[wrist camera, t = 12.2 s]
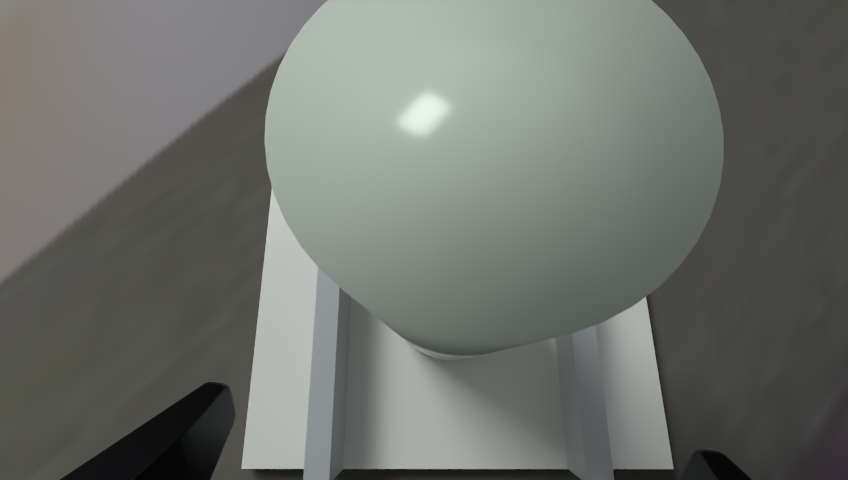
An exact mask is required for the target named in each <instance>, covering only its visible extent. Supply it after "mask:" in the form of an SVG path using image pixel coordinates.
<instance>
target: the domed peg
mask: <svg viewBox="0 0 848 480" xmlns="http://www.w3.org/2000/svg"><path fill="white" fill-rule="evenodd" d="M265 151H266V161H267V169H268V173H269V177H270V181H271V185H272V188H273V192H274V196H275V198H276V200H277V203H278V205H279V207H280V210H281V212H282V215H283V217H284V219H285V221H286V223H287V225H288V226H289V228H290V230H291V231H292V233H293V234H294V236H295V238H296V239H297V241H298V243H299V244H300V246H301V247H302V248H303V249H304V251H305V252H306V253H307V254H308V256H309V257H310V258H311V259H312V260H313V262H314V263H315V264H316V265H317V266H318V268H319V269H320V270H321V271H322V272H324V273H325V274H326V275H327V276H328V277H329V278H330V279H331V280H332V281H333V282H335V283H336V284H337V285H338V286H339V287H340V288H341V289H342V290H343V291H345V292H346V293H347V294H348V295H350V296H351V297H352V298H353V299H355V300H356V301H357V302H358V303H360V304H361V305H362V306H363V307H365V308H366V309H367V310H368V311H369V312H371V313H372V314H373V315H374V316H376V317H377V318H378V319H379V320H381V321H382V322H383V323H384V324H386V325H387V326H388V327H389V328H391V329H392V330H393V331H394V332H396V333H397V334H398V335H399V336H400V337H402V338H403V339H404V340H405V341H407V342H408V343H409V344H410V345H412V346H413V347H414V348H416V349H417V350H418V351H420V352H421V353H423V354H425V355H427V356H430V357H433V358H436V359H440V360H448V361H456V360H463V359H468V358H472V357H476V356H481V355H485V354H489V353H493V352H497V351H501V350H506V349H510V348H514V347H518V346H522V345H527V344H531V343H535V342H539V341H543V340H547V339H552V338H556V337H560V336H564V335H568V334H572V333H575V332H578V331H580V330H583V329H586V328H589V327H591V326H594V325H597V324H600V323H602V322H605V321H606V320H608V319H610V318H612V317H614V316H616V315H618V314H619V313H621V312H623V311H625V310H627V309H629V308H631V307H632V306H634V305H635V304H637V303H638V302H639V301H641V300H642V299H643V298H645V297H646V296H647V295H649V294H650V293H651V292H653V291H654V290H655V289H657V288H658V287H659V286H660V285H661V284H662V283H663V282H664V281H665V280H666V279H667V278H668V277H669V276H670V275H671V274H672V273H673V272H674V271H675V270H676V269H677V268H678V267H679V266H680V265H681V263H682V262H683V261H684V259H685V258H686V256H687V255H688V254H689V252H690V251H691V250H692V248H693V247H694V245H695V244H696V243H697V241H698V240H699V238H700V236H701V234H702V232H703V230H704V228H705V226H706V224H707V222H708V220H709V218H710V216H711V213H712V210H713V207H714V204H715V200H716V197H717V194H718V191H719V188H720V181H721V174H722V167H723V160H724V152H723V128H722V122H721V116H720V110H719V105H718V102H717V99H716V96H715V93H714V89H713V86H712V83H711V80H710V78H709V76H708V74H707V72H706V70H705V68H704V66H703V64H702V62H701V60H700V58H699V56H698V55H697V53H696V51H695V50H694V48H693V47H692V45H691V44H690V42H689V41H688V39H687V38H686V36H685V35H684V34H683V33H682V31H681V30H680V29H679V28H678V27H677V26H676V24H675V23H674V22H673V21H672V20H671V19H670V17H669V16H668V15H667V14H666V13H665V12H664V11H662V10H661V9H660V8H659V7H658V6H657V5H656V4H655V3H654V2H653V1H652V0H328V1H327V2H326V3H325V4H324V5H322V6H321V7H320V8H319V10H317V12H316V13H315V14H314V15H313V16H312V17H311V18H310V19H309V20H308V22H307V23H306V24H305V25H304V26H303V28H302V29H301V31H300V32H299V34H298V35H297V37H296V38H295V39H294V41H293V42H292V44H291V45H290V47H289V49H288V51H287V53H286V55H285V57H284V59H283V61H282V62H281V64H280V66H279V69H278V71H277V74H276V77H275V80H274V83H273V86H272V89H271V92H270V97H269V102H268V107H267V112H266V122H265Z"/></svg>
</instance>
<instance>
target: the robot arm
mask: <svg viewBox="0 0 848 480" xmlns="http://www.w3.org/2000/svg"><path fill="white" fill-rule="evenodd" d="M235 414H236V413H235V407H234V402H233V397H232V393H231V388H230V387H229V386H228V384H223V383H216V382H208V383H205V384H203V385H202V386H200V387H199V388H197V389H196V390H194V391H193V392H191V393H190V394H188V395H187V396H185V397H184V398H182V399H181V400H179V401H178V402H176V403H175V404H173V405H172V406H170V407H169V408H167V409H166V410H164V411H163V412H161V413H160V414H158V415H157V416H155V417H154V418H152V419H151V420H149V421H148V422H146V423H145V424H143V425H142V426H140V427H138V428H137V429H135V430H134V431H132V432H131V433H129V434H128V435H126V436H125V437H123V438H122V439H120V440H119V441H117V442H116V443H114V444H113V445H111V446H110V447H108V448H107V449H105V450H104V451H102V452H101V453H99V454H98V455H96V456H95V457H93V458H92V459H90V460H89V461H87V462H86V463H84V464H83V465H81V466H80V467H78V468H77V469H75V470H74V471H72V472H71V473H69V474H68V475H66V476H65V477H63V478H62V479H60V480H210V479H211V477H212V474H213V472H214V469H215V467H216V465H217V462H218V460H219V457H220V455H221V453H222V450H223V448H224V446H225V443H226V441H227V438H228V436H229V434H230V431H231V429H232V427H233V424H234V421H235ZM680 480H752V479H750V478H749V477H748V476H747V475H746V474H745V473H744V472H743V471H742V470H741V469H740V468H739V467H737V466H736V465H735V464H734V463H733V462H732V461H731V460H730V459H729V458H728V457H726V456H725V455H724V454H722V453H720V452H717V451H710V450H703V449H698V450H696V451H694V452H693V454H692V456H691V457H690V459H689V461H688V463H687V464H686V466H685V468H684V470H683V471H682V473H681V476H680Z"/></svg>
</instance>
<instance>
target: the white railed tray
mask: <svg viewBox="0 0 848 480" xmlns="http://www.w3.org/2000/svg"><path fill="white" fill-rule="evenodd" d="M242 469H304V475H303V480H333V479H334V478H335V477H336V476H337V475H338V474H339V473H340V472H341V471H342V470H343V469H568V470H570V471H571V472H572V473H573V474H575V475H576V476H577V477H579V478H580V479H581V480H614V473H613V469H674V468H673V462H672V456H671V449H670V443H669V437H668V431H667V424H666V418H665V412H664V406H663V400H662V393H661V387H660V381H659V375H658V368H657V362H656V356H655V350H654V344H653V337H652V331H651V325H650V319H649V312H648V306H647V300H646V297H645V298H643V299H642V300H641V301H639V302H638V303H637V304H635V305H634V306H632V307H631V308H629V309H627V310H625V311H623V312H621V313H619V314H618V315H616V316H614V317H612V318H610V319H608V320H606V321H605V322H602V323H600V324H597V325H594V326H591V327H589V328H586V329H583V330H580V331H578V332H575V333H572V334H568V335H564V336H560V337H556V338H552V339H547V340H543V341H539V342H535V343H531V344H527V345H522V346H518V347H514V348H510V349H506V350H501V351H497V352H493V353H489V354H485V355H481V356H476V357H472V358H468V359H463V360H456V361H448V360H440V359H436V358H433V357H430V356H427V355H425V354H423V353H421V352H420V351H418V350H417V349H416V348H414V347H413V346H412V345H410V344H409V343H408V342H407V341H405V340H404V339H403V338H402V337H400V336H399V335H398V334H397V333H396V332H394V331H393V330H392V329H391V328H389V327H388V326H387V325H386V324H384V323H383V322H382V321H381V320H379V319H378V318H377V317H376V316H374V315H373V314H372V313H371V312H369V311H368V310H367V309H366V308H365V307H363V306H362V305H361V304H360V303H358V302H357V301H356V300H355V299H353V298H352V297H351V296H350V295H348V294H347V293H346V292H345V291H343V290H342V289H341V288H340V287H339V286H338V285H337V284H336V283H335V282H333V281H332V280H331V279H330V278H329V277H328V276H327V275H326V274H325V273H324V272H322V271H321V270H320V269H319V268H318V266H317V265H316V264H315V263H314V262H313V260H312V259H311V258H310V257H309V256H308V254H307V253H306V252H305V251H304V249H303V248H302V247H301V246H300V244H299V243H298V241H297V239H296V238H295V236H294V234H293V233H292V231H291V230H290V228H289V226H288V225H287V223H286V221H285V219H284V217H283V215H282V212H281V210H280V207H279V205H278V203H277V200H276V198H275V196H274V192H273V188H272V193H271V202H270V211H269V220H268V230H267V239H266V248H265V257H264V266H263V276H262V285H261V294H260V303H259V312H258V322H257V331H256V340H255V349H254V358H253V367H252V377H251V386H250V395H249V404H248V413H247V423H246V432H245V441H244V450H243V459H242Z"/></svg>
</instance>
